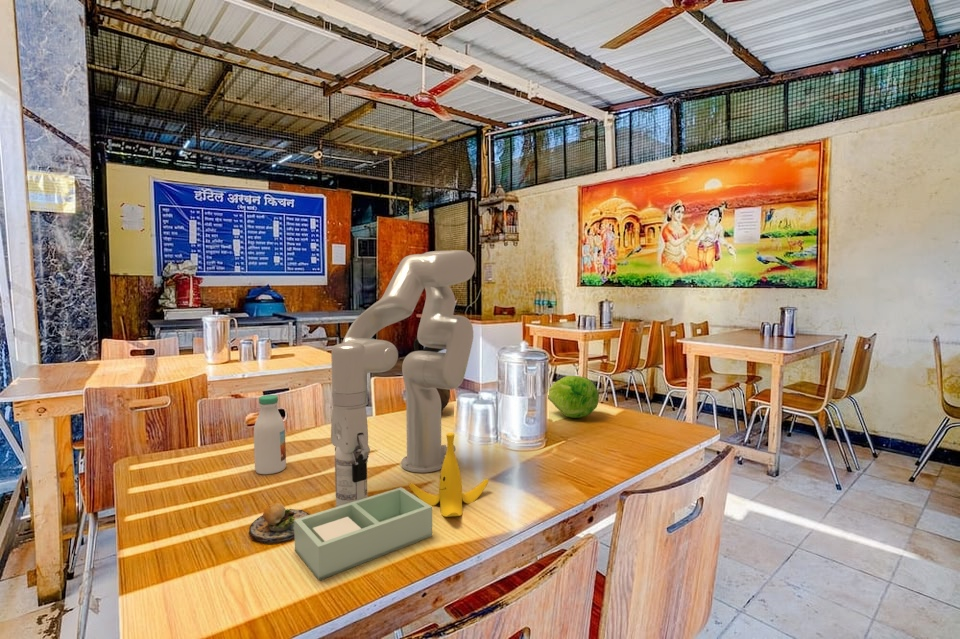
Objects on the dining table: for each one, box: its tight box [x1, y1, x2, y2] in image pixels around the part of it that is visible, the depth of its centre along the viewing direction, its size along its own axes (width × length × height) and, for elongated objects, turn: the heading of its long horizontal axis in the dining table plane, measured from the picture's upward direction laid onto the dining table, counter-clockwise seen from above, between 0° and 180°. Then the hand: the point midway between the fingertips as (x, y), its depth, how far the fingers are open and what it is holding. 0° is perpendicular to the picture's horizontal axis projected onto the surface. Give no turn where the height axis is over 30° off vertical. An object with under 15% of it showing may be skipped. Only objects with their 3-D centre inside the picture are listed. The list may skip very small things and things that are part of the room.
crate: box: [294, 486, 433, 582], centre depth 94 cm, size 23×12×6 cm, turn 129°
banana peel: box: [408, 432, 490, 518], centre depth 112 cm, size 17×19×17 cm
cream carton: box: [312, 517, 361, 542], centre depth 91 cm, size 7×7×4 cm
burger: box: [248, 500, 311, 545], centre depth 99 cm, size 12×12×8 cm
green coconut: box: [547, 375, 600, 419], centre depth 182 cm, size 17×20×16 cm
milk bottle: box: [253, 394, 287, 475], centre depth 130 cm, size 8×8×20 cm
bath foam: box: [334, 447, 368, 507], centre depth 110 cm, size 7×7×20 cm
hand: (351, 474), depth 110 cm, fingers open, 8 cm apart
